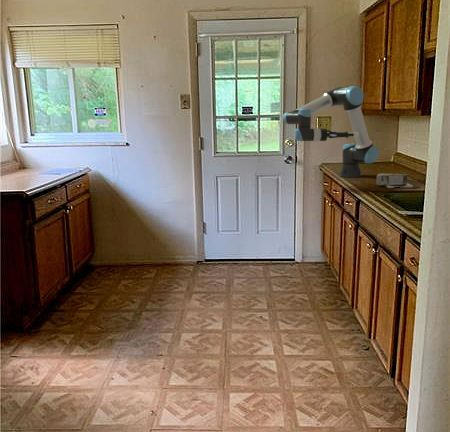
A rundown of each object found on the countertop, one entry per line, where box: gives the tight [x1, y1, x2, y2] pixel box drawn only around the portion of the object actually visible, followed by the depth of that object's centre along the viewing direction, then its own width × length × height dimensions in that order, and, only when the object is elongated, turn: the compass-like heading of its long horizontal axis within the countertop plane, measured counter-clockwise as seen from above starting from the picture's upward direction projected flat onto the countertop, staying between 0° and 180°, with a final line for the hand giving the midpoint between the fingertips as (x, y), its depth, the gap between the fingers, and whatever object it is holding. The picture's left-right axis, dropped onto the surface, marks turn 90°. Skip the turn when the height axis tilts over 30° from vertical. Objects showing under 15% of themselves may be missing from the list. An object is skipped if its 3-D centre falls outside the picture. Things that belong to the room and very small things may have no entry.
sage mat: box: [383, 182, 414, 189], centre depth 285 cm, size 19×14×1 cm
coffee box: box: [375, 172, 408, 188], centre depth 279 cm, size 9×6×16 cm
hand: (358, 134), depth 279 cm, fingers closed
